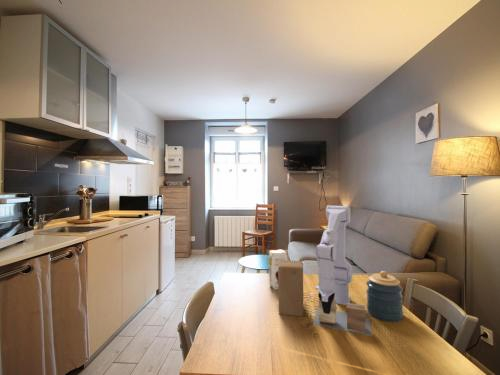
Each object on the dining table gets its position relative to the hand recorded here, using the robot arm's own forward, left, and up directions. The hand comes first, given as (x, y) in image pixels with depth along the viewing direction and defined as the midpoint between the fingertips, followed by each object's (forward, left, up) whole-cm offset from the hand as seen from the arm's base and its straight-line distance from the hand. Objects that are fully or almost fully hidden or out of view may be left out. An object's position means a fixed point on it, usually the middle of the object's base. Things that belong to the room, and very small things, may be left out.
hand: (326, 312), depth 89 cm
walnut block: (-2, +10, -5) cm, 11 cm away
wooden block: (-7, -15, -5) cm, 17 cm away
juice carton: (-29, -27, -5) cm, 40 cm away
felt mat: (-6, +5, -5) cm, 9 cm away
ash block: (-2, 0, -4) cm, 4 cm away
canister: (-18, +21, -5) cm, 28 cm away
